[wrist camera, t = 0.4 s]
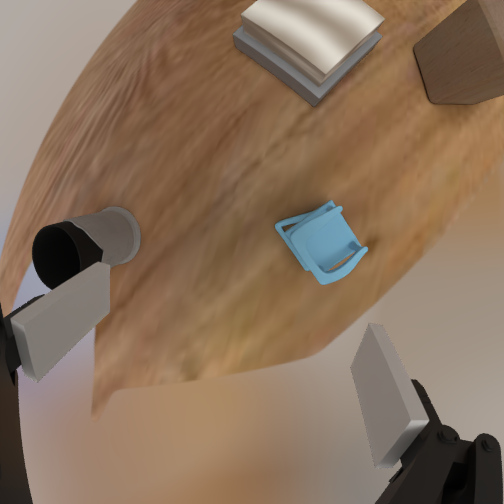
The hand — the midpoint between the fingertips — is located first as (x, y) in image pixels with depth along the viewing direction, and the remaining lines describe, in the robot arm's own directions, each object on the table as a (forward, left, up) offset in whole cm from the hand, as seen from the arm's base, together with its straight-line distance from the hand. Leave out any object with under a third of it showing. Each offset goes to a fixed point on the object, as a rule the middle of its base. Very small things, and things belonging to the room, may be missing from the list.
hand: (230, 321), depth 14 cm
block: (-31, +24, -28) cm, 48 cm away
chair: (-2, +8, -28) cm, 29 cm away
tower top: (-28, +2, -23) cm, 36 cm away
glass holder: (+7, -21, -28) cm, 36 cm away
